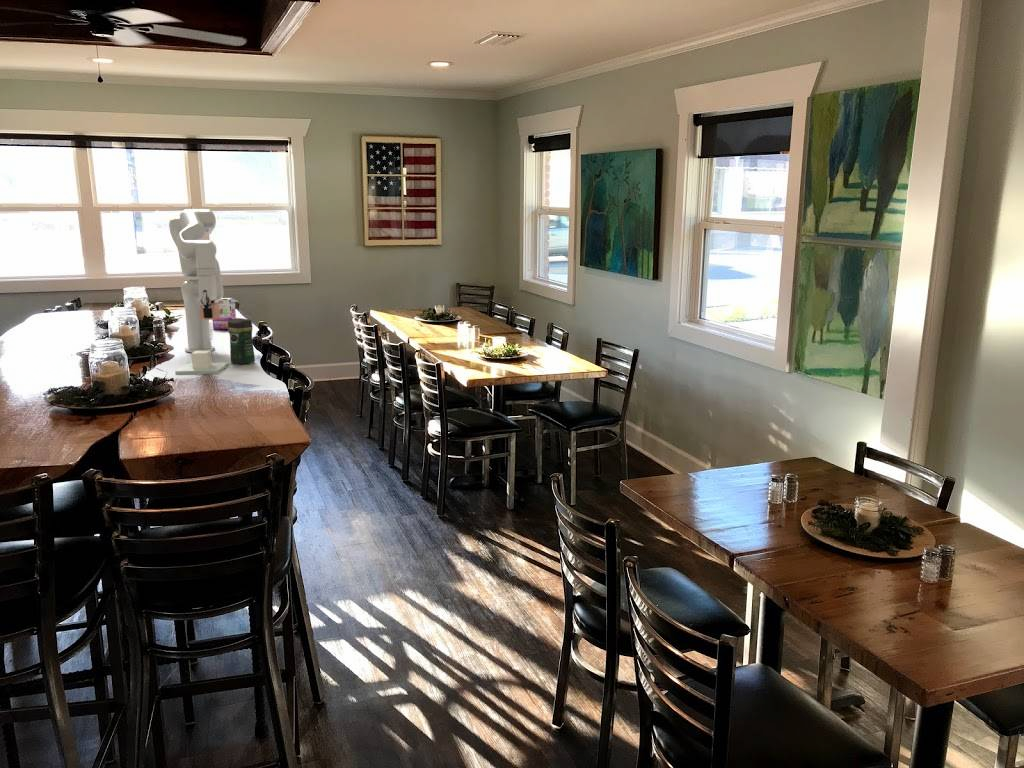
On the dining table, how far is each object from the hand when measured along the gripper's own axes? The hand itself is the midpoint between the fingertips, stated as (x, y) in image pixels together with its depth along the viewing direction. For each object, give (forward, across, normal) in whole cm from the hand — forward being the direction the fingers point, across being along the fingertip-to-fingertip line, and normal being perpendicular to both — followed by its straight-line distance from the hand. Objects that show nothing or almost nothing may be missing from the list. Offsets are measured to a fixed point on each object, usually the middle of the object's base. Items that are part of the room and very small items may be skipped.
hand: (210, 316), depth 329 cm
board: (+20, +14, -1) cm, 24 cm away
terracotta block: (+1, 0, 0) cm, 1 cm away
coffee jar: (+20, 0, +12) cm, 23 cm away
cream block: (+18, +13, -1) cm, 23 cm away
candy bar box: (+20, -92, -18) cm, 95 cm away
